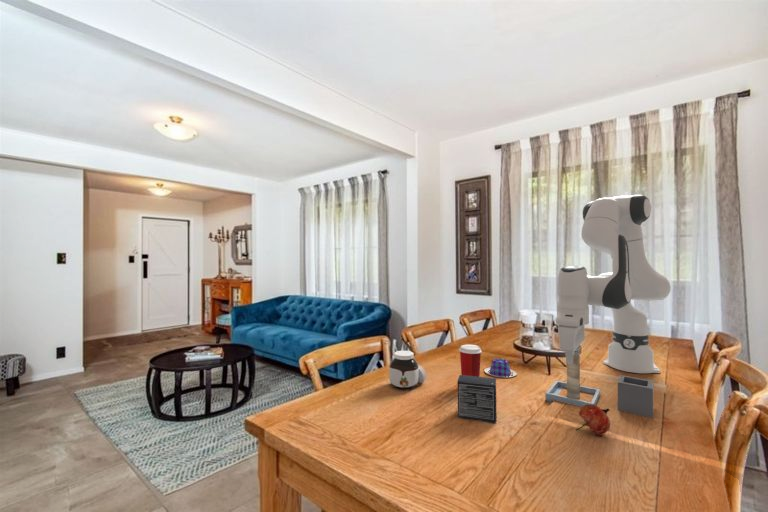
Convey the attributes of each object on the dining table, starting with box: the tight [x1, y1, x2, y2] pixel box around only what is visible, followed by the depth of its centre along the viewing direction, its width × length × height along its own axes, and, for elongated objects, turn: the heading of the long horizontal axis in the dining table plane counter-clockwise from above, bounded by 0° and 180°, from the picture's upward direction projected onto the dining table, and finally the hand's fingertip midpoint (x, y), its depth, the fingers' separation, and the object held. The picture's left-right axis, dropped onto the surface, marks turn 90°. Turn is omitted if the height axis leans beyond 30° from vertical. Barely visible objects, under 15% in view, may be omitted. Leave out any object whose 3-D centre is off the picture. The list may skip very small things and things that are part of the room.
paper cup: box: [458, 344, 482, 377], centre depth 119 cm, size 8×8×14 cm
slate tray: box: [545, 380, 601, 408], centre depth 108 cm, size 14×13×2 cm
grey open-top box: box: [617, 374, 655, 419], centre depth 99 cm, size 8×8×9 cm
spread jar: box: [388, 350, 427, 391], centre depth 121 cm, size 12×11×12 cm
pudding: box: [484, 358, 518, 378], centre depth 133 cm, size 12×12×5 cm
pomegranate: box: [575, 404, 611, 436], centre depth 88 cm, size 7×7×10 cm
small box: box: [456, 374, 498, 424], centre depth 97 cm, size 11×6×10 cm, turn 71°
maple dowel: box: [566, 354, 581, 399], centre depth 109 cm, size 4×4×13 cm
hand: (573, 360), depth 109 cm, fingers open, 8 cm apart
